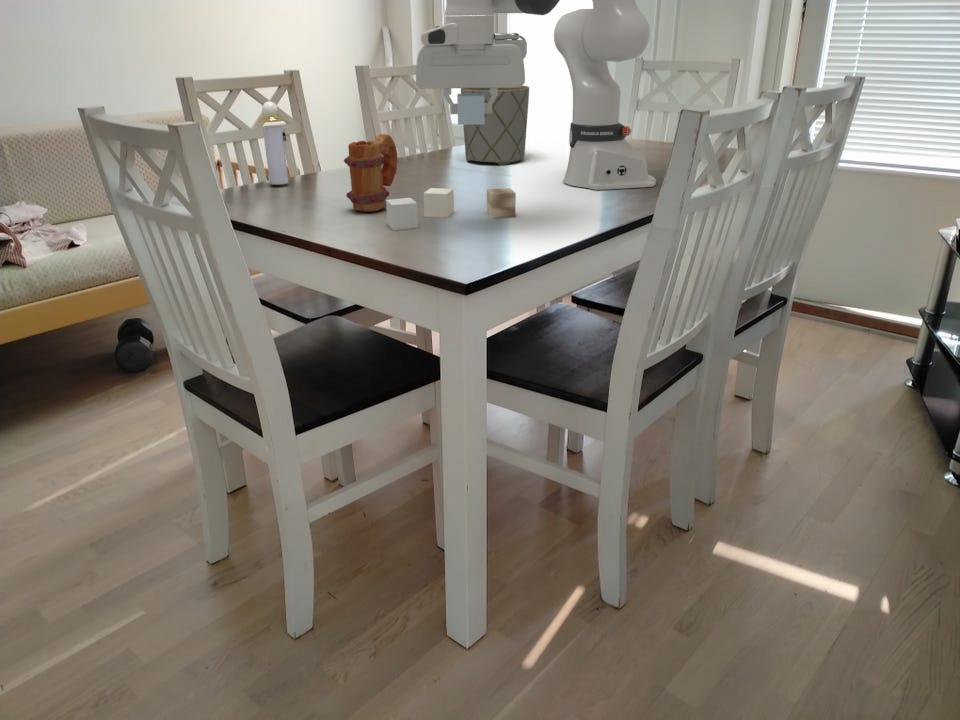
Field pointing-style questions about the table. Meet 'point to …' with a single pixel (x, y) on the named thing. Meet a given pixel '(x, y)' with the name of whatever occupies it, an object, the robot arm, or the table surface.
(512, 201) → the birch cube
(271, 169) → the perfume bottle
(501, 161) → the planter
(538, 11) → the robot arm
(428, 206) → the cream cube
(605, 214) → the table surface
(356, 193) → the mug
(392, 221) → the grey cube
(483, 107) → the pale blue cube
